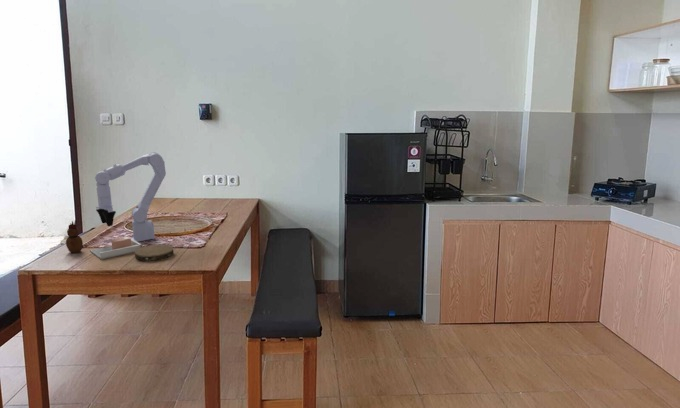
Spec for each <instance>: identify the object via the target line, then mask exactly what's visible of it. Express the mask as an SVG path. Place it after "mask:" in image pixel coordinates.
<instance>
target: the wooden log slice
mask: <svg viewBox="0 0 680 408" xmlns="http://www.w3.org/2000/svg"><path fill="white" fill-rule="evenodd" d="M173 255H174V247H173V246H171V245H169V244H168V245H167V244H154V245H147V246H142V248H140V249H137V250H136V251H135V253H134V258H135V260H136V261H139V262H144V263H145V262H148V263H150V262H158V261H159V262H160V261H163V260H167V259H169V258H172V257H173Z"/></svg>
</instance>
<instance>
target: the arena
mask: <svg viewBox="0 0 680 408" xmlns="http://www.w3.org/2000/svg"><path fill="white" fill-rule="evenodd" d="M129 238H130V239H131V238H132V237H129ZM142 247H143V244H142V243H140V242H137V241H135V240H133V239H131V246H130V247H125V248H120V249H115V250H112V245H110V246H105V247H101V248H95V249H92V250H89V252H90V253H91V254H92V255H94V256H96V258H99V259H100V260H105V259H110V258H111V259H112V258H115V257H116V258H117V257H120V256H124V255H129V254H135V251H136V250H137V249H140V248H142Z"/></svg>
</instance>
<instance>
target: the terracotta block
mask: <svg viewBox="0 0 680 408" xmlns="http://www.w3.org/2000/svg"><path fill="white" fill-rule="evenodd" d="M130 238H131V237H128V236H123V237H119V238H115V239H114V238H113V239H111V246H112V250H115V249H120V248H125V247H130V246H131V239H130Z"/></svg>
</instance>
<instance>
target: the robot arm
mask: <svg viewBox="0 0 680 408" xmlns="http://www.w3.org/2000/svg"><path fill="white" fill-rule="evenodd" d="M165 162H166V161H165V160H164V158H163V157H162V155H160V154H159V153H157V152H150V153H147V154H144V155H141V156H139V157H137V158H135V159H133V160H131V161H128V162H127V163H125V164H119V163H117V164H116V163H115V164H112V166H110V167H109V168H103V171H102V170H100V171H98V172H97V173H96V174H95V177H94V178H95V179H94V180H95V182H96V193H97V196H96V197H97V204H98V205H97V206H95V208H96V210H95V211H96V213H97V214H98V215H99V218H100V222H101V224H106V225H107V227H112V226H113V223H114V218H115V215H116V213H117V212H116V210H114V209H113V204H112V194H111V186H110V183H109V182H110V181H114V180H116V179H118V178H120V177H122V176H125V175H126V172H127V171H129V170H132V169H135V168H137V167H139V166H142V165H143V166H149V165H150V166H151V168H152V169H153V172H154V174H153V176H152V178H151V179H150V182H149V184H148V185H147V188H146V190H145V191H144V193H143V195H142V197H141V199H140V201H139V202H138V203H137V205H136V207H135V208H133V209H132V210H131V217H132V219H133V220H132V221H131V225H132V226H131V227H132V237H130V238H131V239H133V240H135V241H137V242H138V243H140V242H142V241H148V240H149V241H150V240H155V239H156V237H155V226H154V223H153V221H152V220H151V219H149V220H148V218H147V217H148V212H149V210H150V206H151V204H152V202H153V200H154V198H155V196H156V194H157V192H158V190H159V189H160V187H161V185H162V182H163V180H164V179H165V177H166V174H167V172H166V166H165V165H166V164H165Z"/></svg>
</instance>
